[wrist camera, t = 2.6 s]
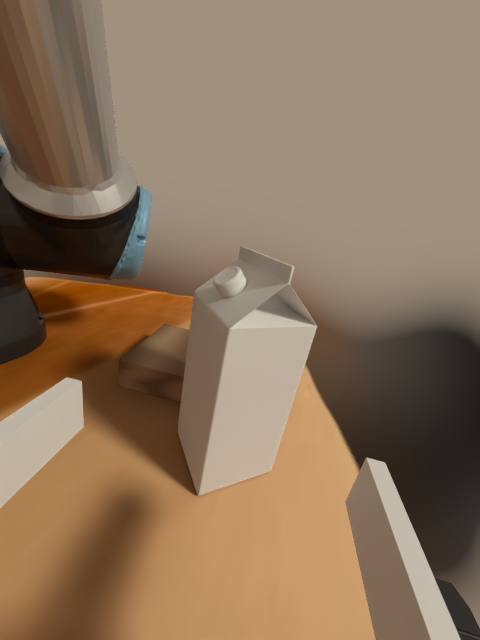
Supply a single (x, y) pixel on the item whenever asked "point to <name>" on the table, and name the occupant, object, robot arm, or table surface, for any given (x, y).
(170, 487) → the table surface
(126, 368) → the walnut block
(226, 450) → the milk carton
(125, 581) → the table surface
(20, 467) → the robot arm
